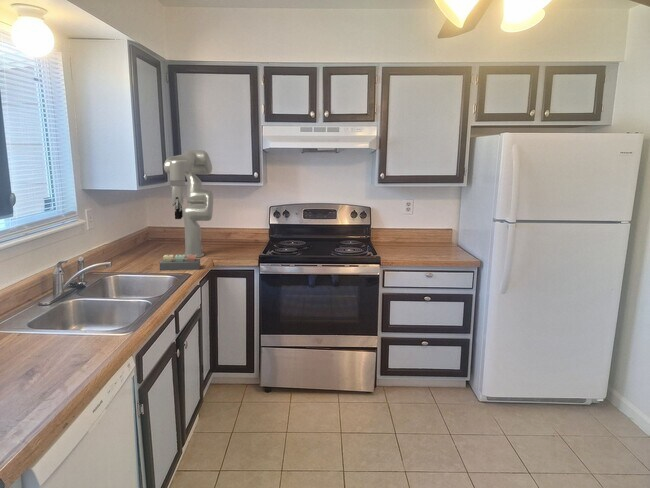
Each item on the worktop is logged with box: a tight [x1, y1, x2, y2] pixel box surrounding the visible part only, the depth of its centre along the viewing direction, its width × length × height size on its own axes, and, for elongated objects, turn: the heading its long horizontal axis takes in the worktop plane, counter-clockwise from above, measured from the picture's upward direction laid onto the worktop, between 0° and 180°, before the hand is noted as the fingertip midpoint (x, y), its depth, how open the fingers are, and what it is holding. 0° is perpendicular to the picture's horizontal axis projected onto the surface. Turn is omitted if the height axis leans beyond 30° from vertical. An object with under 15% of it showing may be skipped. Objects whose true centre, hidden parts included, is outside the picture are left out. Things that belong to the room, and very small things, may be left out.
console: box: [159, 258, 201, 272], centre depth 230 cm, size 20×9×4 cm, turn 103°
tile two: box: [174, 254, 186, 262], centre depth 230 cm, size 5×5×5 cm
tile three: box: [186, 254, 198, 262], centre depth 231 cm, size 5×5×5 cm
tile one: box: [162, 254, 175, 262], centre depth 229 cm, size 5×5×5 cm
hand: (178, 218), depth 226 cm, fingers open, 5 cm apart
